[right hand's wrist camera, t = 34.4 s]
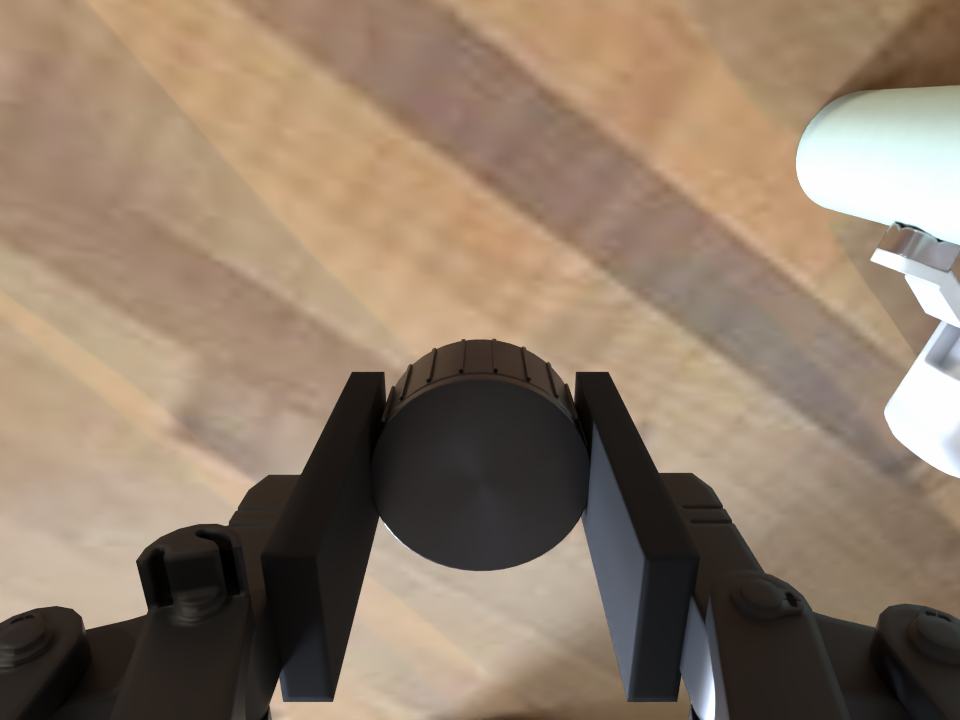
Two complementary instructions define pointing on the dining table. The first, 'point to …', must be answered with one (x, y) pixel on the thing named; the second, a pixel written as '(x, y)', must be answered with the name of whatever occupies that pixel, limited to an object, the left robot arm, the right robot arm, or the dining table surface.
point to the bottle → (888, 158)
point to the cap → (480, 457)
